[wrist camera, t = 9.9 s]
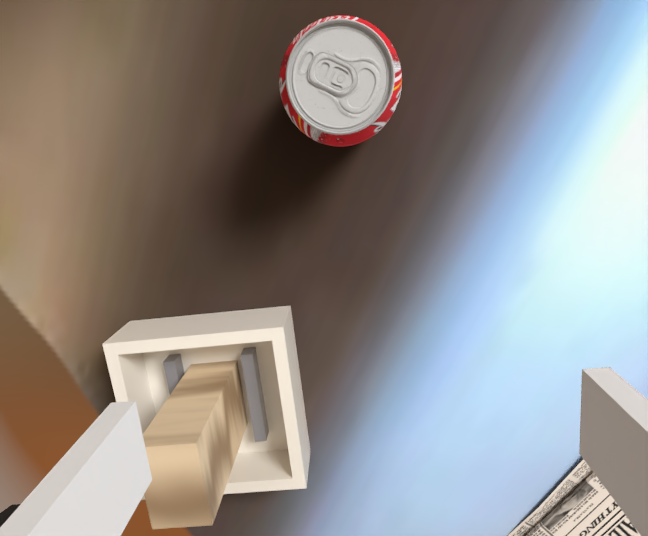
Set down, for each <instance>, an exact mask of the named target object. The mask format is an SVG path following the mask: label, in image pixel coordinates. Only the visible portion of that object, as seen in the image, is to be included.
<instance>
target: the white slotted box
mask: <svg viewBox="0 0 648 536" xmlns="http://www.w3.org/2000/svg"><path fill="white" fill-rule="evenodd" d="M102 345H103V349H104V353H105V357H106V361H107V366H108V370H109V374H110V378H111V382H112V387H113V391H114V395H115V399H116V402H129V401H136V406H137V410H138V415H139V420H140V424H141V429H142V434H143V433H144V432H145V430H146V429H147V428H148V426H149V425H150V423H151V422H152V420H153V419H154V417H155V416H156V415H157V413H158V412H159V410H160V409H161V407H162V406H163V404H164V403H165V402H166V400H167V399H168V397H169V396H170V394H171V393H172V391H173V390H174V389H175V387H176V386H177V384H178V383H179V381H180V380H181V378H182V377H183V376H184V374H185V373H186V371H187V370H188V368H189V367H190V365H191V364H199V363H210V362H221V361H233V360H237V362H238V368H239V373H240V379H241V385H242V391H243V397H244V403H245V409H246V415H247V421H248V424H247V427H246V430H245V433H244V436H243V438H242V441H241V444H240V447H239V450H238V453H237V456H236V459H235V462H234V465H233V467H232V470H231V473H230V476H229V479H228V482H227V485H226V488H225V491H224V493H223V494H233V493H247V492H261V491H275V490H289V489H303V488H306V487H307V478H308V469H309V460H310V444H309V437H308V430H307V422H306V415H305V408H304V400H303V393H302V386H301V379H300V371H299V364H298V357H297V349H296V342H295V335H294V328H293V320H292V313H291V306H281V307H271V308H260V309H250V310H240V311H229V312H219V313H209V314H198V315H188V316H178V317H167V318H157V319H147V320H136V321H129V322H128V323H127V324H126V325H125V326H123V327H122V328H121V329H120V330H119V331H117V332H116V333H115V334H114V335H113V336H111V337H110V338H109V339H108V340H107V341H105V342H104V343H103V344H102ZM141 500H145V496H144V495H143V497H142V499H141Z"/></svg>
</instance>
